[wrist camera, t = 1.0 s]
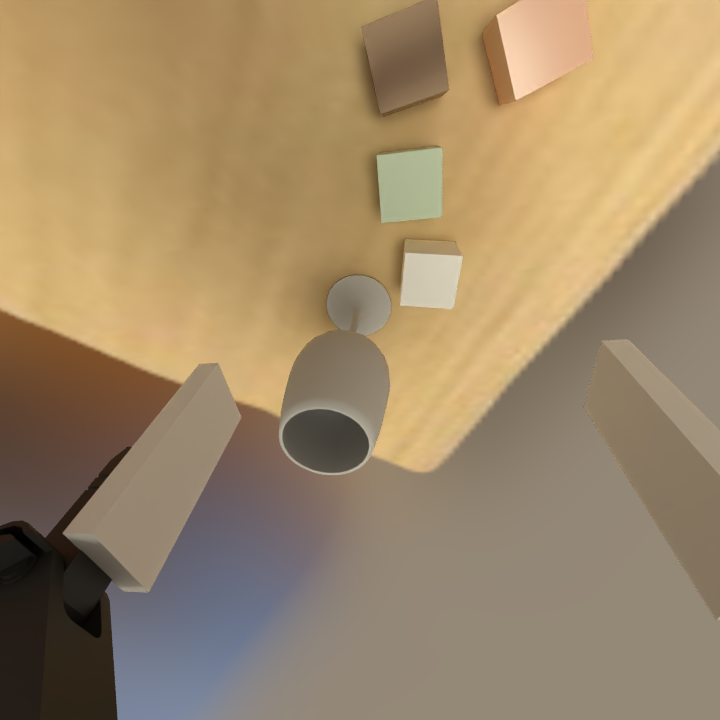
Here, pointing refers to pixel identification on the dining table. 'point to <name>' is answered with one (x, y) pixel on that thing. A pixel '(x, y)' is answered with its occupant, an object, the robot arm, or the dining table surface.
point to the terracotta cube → (536, 45)
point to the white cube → (430, 273)
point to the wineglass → (339, 384)
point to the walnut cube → (407, 57)
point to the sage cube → (410, 184)
